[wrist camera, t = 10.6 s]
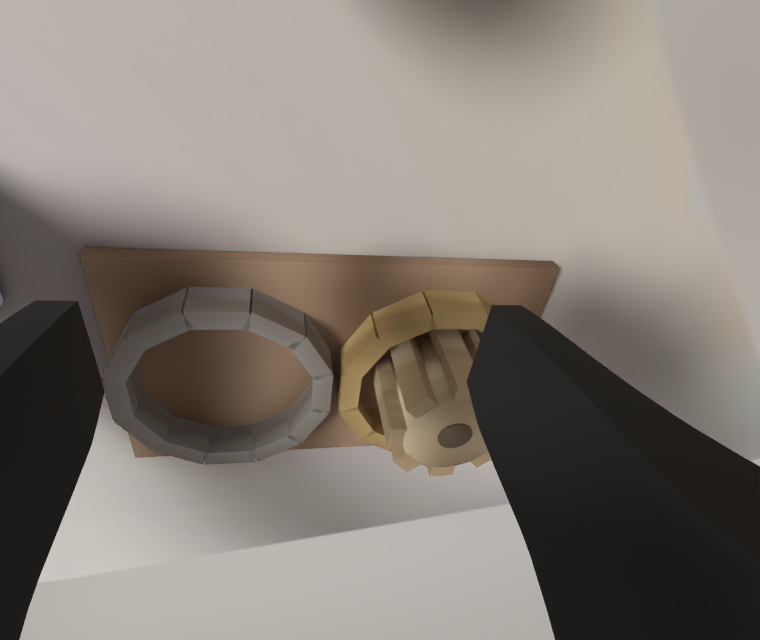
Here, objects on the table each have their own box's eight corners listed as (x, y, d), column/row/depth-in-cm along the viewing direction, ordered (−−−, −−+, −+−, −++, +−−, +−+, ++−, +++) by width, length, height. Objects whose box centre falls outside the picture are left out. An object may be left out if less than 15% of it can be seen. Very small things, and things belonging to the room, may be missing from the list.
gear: (366, 408, 24) (380, 481, 20) (380, 319, 20) (399, 391, 17) (471, 404, 25) (499, 473, 21) (500, 320, 21) (539, 387, 18)
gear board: (138, 447, 24) (127, 485, 22) (84, 246, 17) (63, 280, 15) (485, 430, 27) (498, 462, 26) (552, 261, 21) (576, 289, 19)
